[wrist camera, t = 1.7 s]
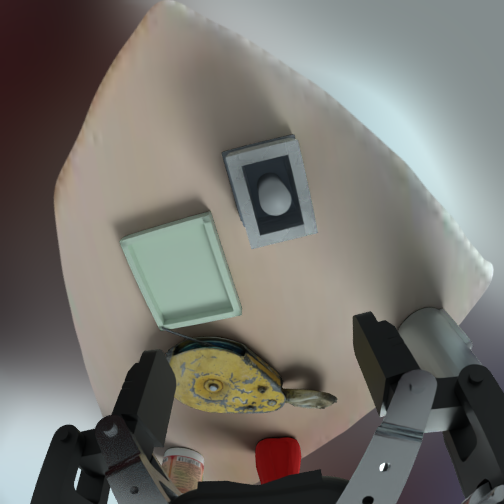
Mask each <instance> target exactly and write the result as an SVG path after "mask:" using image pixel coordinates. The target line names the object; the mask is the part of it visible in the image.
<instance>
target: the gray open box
mask: <svg viewBox="0 0 504 504" xmlns="http://www.w3.org/2000/svg"><path fill="white" fill-rule="evenodd" d="M280 156H283V159H284V163H285V167H286V171H287V175H288V179H289V184H290V188H291V192H292V196H293V201H294V205H295V209H294V210H289V211H286V212H285V213H283V214H281V215H269V216H265V217H261V218H258V216H257V212H256V208H255V205H254V201H253V197H252V194H251V190H250V186H249V183H248V179H247V175H246V172H245V168H244V165H248V164H252V163H256V162H260V161H264V160H268V159H272V158H276V157H280ZM226 161H227V165H228V168H229V172H230V175H231V179H232V182H233V186H234V189H235V193H236V196H237V200H238V203H239V207H240V210H241V214H242V217H243V221H244V224H245V228H246V231H247V235H248V238H249V242H250V245H251V249H254V248H258V247H262V246H266V245H270V244H274V243H279V242H283V241H287V240H291V239H295V238H299V237H303V236H307V235H311V234H315V233H318V231H317V226H316V221H315V216H314V211H313V206H312V201H311V196H310V192H309V187H308V182H307V178H306V173H305V169H304V165H303V160H302V156H301V152H300V148H299V143H298V140H297V139H292V138H286V139H282V140H277V141H273V142H269V143H265V144H261V145H257V146H253V147H249V148H245V149H241V150H237V151H234V152H230V153H229V154H228V155H227V156H226Z"/></svg>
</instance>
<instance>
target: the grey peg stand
mask: <svg viewBox="0 0 504 504" xmlns="http://www.w3.org/2000/svg"><path fill="white" fill-rule="evenodd" d="M286 138H292V139H295V136H294V135H293V134H292V135H288V136H283V137H279V138H275V139H270V140H266V141H262V142H258V143H254V144H250V145H246V146H242V147H239V148H235V149H231V150H228V151H224V152H222V157H223V160H224V164H225V167H226V171H227V174H228V178H229V181H230V185H231V188H232V192H233V195H234V198H235V202H236V205H237V209H238V212H239V216H240V219H241V221H242V222H243V226H244V227H245V224H244V221H243V217H242V214H241V210H240V207H239V203H238V200H237V196H236V193H235V189H234V186H233V182H232V179H231V175H230V172H229V168H228V165H227V161H226V156H227V155H228V154H229V153H230V152H234V151H237V150H241V149H245V148H249V147H253V146H257V145H261V144H265V143H269V142H273V141H277V140H282V139H286ZM244 168H245V172H246V175H247V179H248V183H249V186H250V190H251V194H252V197H253V201H254V205H255V208H256V212H257V216H258V218H261V217H265V216H269V215H281V214H283V213H285V212H286V211H289V210H294V209H295V205H294V201H293V196H292V192H291V188H290V184H289V179H288V175H287V171H286V167H285V163H284V159H283V156H280V157H276V158H272V159H268V160H264V161H260V162H256V163H252V164H248V165H244Z"/></svg>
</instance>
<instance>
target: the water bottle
mask: <svg viewBox="0 0 504 504" xmlns="http://www.w3.org/2000/svg"><path fill="white" fill-rule="evenodd" d="M255 458H256V468H257V472H258V475H259V479H260V482H261V484H264V483H268V482H271V481H273V480H276V479H279V478H282V477H285V476H288V475H291V474H298V473H299V470H300V462H301V450H300V446H299V443H298V441H297V440H295V439H293V438H289V437H287V438H268V439H264V440H262V441H260V442H258V444H257V445H256V448H255Z"/></svg>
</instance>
